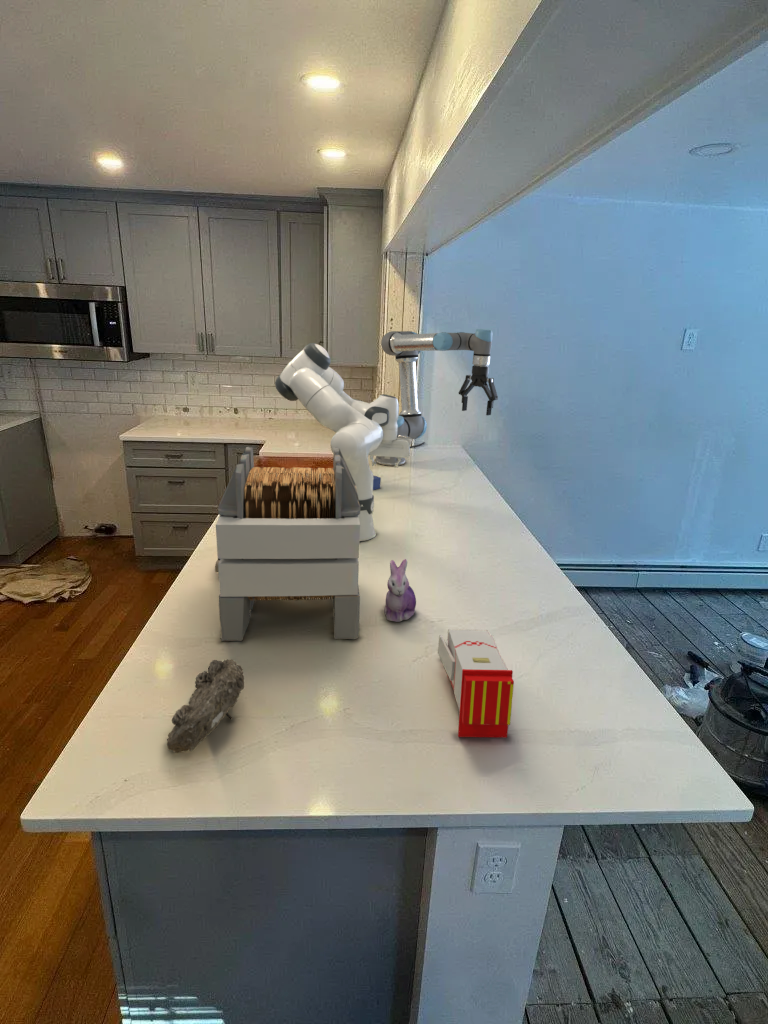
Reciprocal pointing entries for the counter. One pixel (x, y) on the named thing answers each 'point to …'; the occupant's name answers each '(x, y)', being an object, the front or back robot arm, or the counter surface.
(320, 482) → the transformer
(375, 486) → the block
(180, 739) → the fossil
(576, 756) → the counter surface
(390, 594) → the figurine
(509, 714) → the toy
